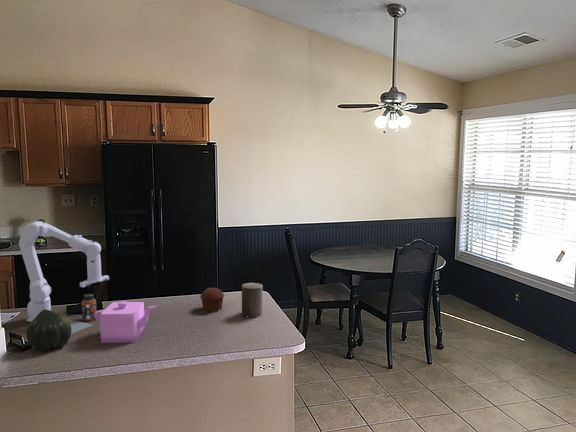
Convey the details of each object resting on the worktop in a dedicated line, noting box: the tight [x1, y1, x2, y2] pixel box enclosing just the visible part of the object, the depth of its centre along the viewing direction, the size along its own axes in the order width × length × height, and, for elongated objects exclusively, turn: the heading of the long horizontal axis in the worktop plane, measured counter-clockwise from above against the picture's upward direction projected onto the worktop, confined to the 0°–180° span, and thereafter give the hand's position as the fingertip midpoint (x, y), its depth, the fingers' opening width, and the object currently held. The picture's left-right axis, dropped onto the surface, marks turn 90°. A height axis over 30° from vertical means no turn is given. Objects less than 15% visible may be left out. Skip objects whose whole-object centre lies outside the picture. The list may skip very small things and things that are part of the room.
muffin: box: [200, 287, 225, 313], centre depth 216 cm, size 12×11×10 cm
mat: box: [67, 318, 94, 335], centre depth 191 cm, size 16×15×1 cm
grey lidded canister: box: [241, 282, 264, 318], centre depth 209 cm, size 10×10×15 cm
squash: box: [26, 309, 72, 351], centre depth 172 cm, size 14×15×15 cm
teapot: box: [94, 300, 157, 344], centre depth 183 cm, size 15×25×14 cm, turn 93°
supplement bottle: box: [81, 293, 98, 322], centre depth 201 cm, size 6×6×11 cm
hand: (95, 298), depth 204 cm, fingers closed
